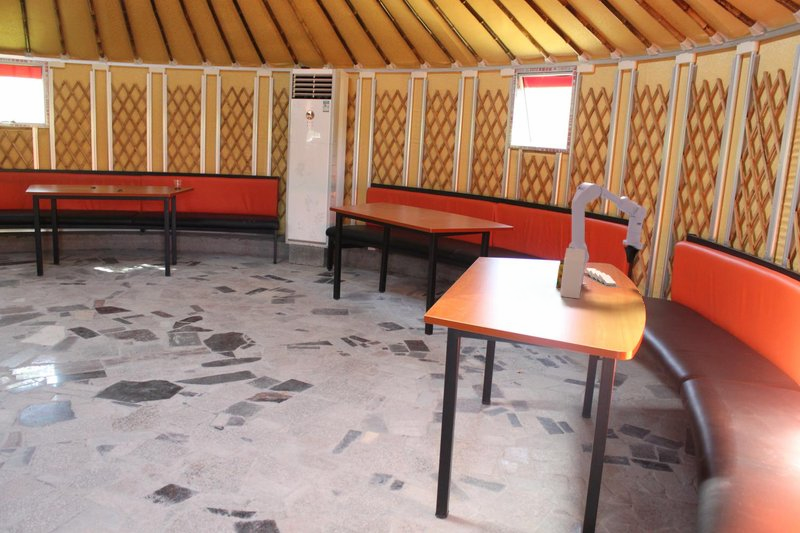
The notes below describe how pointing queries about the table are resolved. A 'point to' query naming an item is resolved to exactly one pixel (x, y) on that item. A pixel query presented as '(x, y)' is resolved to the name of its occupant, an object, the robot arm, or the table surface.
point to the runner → (600, 282)
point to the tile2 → (598, 276)
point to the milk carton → (572, 273)
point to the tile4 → (589, 271)
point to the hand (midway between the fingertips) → (629, 262)
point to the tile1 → (607, 280)
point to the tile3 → (594, 273)
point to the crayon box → (560, 274)
